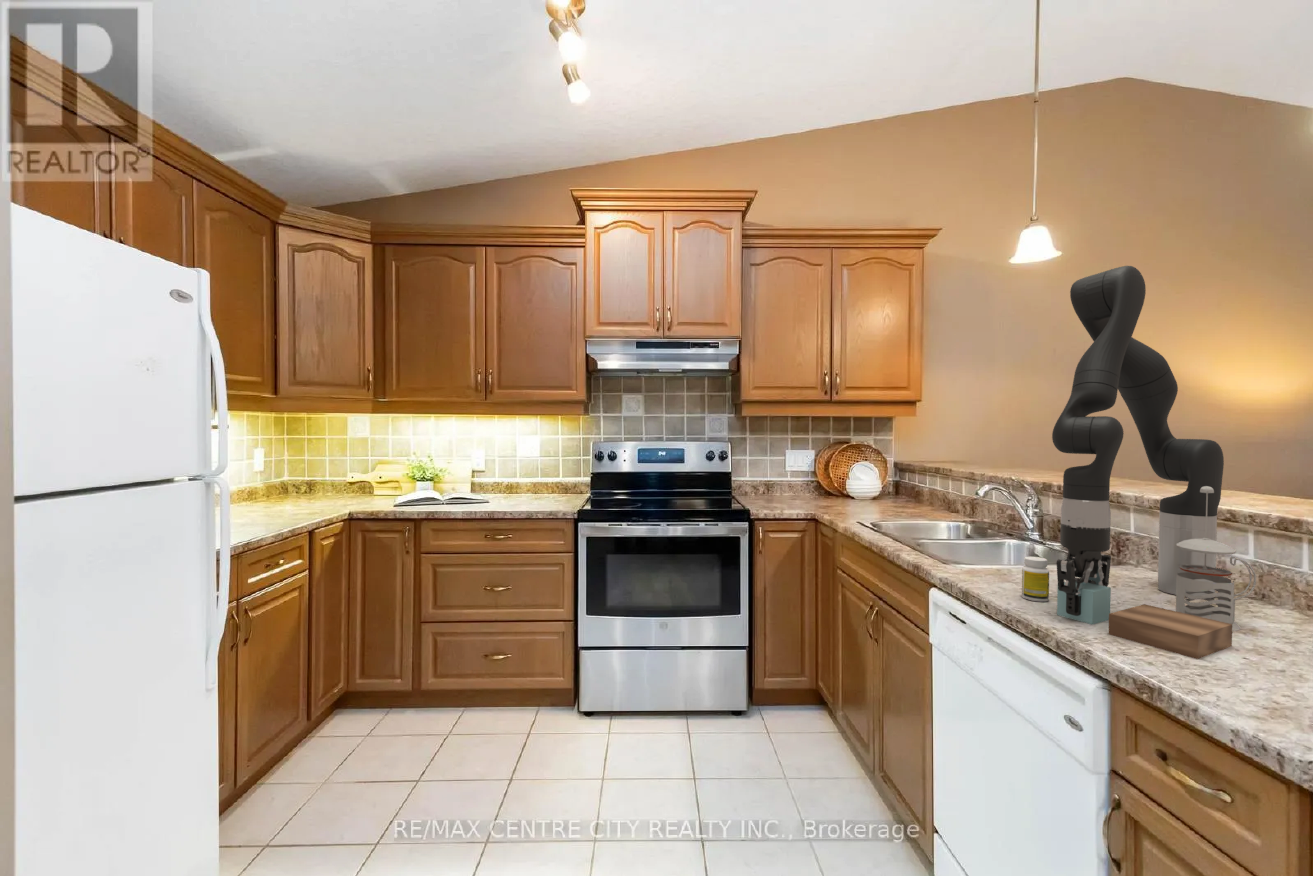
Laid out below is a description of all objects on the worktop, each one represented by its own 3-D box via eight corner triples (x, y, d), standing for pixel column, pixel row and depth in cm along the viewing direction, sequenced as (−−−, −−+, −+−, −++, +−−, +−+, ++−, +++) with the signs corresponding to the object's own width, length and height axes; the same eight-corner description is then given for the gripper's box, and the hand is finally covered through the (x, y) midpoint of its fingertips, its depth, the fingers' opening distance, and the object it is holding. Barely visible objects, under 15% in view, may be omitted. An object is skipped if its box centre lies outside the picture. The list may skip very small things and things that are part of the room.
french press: (1160, 610, 114) (1163, 482, 114) (1240, 619, 109) (1243, 485, 108) (1178, 625, 105) (1182, 487, 105) (1266, 636, 100) (1270, 490, 100)
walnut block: (1143, 626, 106) (1144, 604, 106) (1231, 648, 96) (1232, 624, 95) (1108, 636, 101) (1108, 613, 101) (1197, 661, 90) (1198, 636, 90)
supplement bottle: (1053, 603, 118) (1053, 561, 118) (1027, 601, 119) (1028, 560, 119) (1042, 596, 123) (1043, 556, 123) (1017, 594, 124) (1018, 555, 124)
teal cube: (1074, 610, 114) (1075, 579, 114) (1110, 619, 108) (1110, 587, 108) (1056, 615, 111) (1057, 583, 111) (1092, 624, 106) (1093, 591, 105)
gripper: (1084, 517, 116) (1082, 601, 116) (1041, 522, 109) (1039, 611, 110) (1128, 523, 109) (1126, 612, 110) (1086, 529, 103) (1084, 624, 103)
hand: (1083, 611), depth 110 cm, fingers closed on teal cube, 6 cm apart
